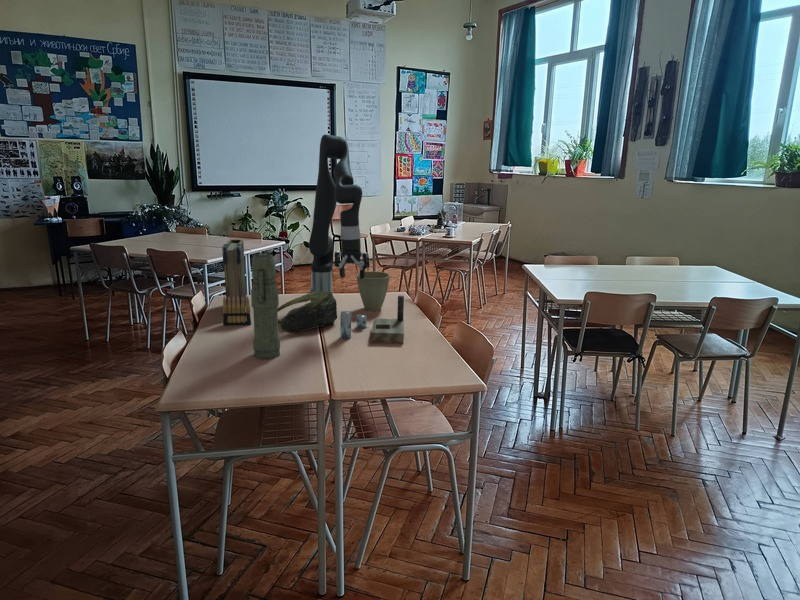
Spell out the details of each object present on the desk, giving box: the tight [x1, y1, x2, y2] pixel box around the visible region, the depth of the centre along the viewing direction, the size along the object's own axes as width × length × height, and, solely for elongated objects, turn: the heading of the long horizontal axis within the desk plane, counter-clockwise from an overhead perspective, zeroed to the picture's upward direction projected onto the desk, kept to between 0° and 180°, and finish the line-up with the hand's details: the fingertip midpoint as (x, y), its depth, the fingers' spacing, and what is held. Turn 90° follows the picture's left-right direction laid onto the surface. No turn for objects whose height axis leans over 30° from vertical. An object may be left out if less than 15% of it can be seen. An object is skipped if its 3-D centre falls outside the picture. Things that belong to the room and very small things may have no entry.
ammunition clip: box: [222, 295, 252, 327], centre depth 210 cm, size 11×2×12 cm, turn 99°
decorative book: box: [221, 239, 247, 312], centre depth 229 cm, size 23×7×30 cm, turn 12°
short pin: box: [356, 314, 368, 330], centre depth 212 cm, size 4×4×5 cm
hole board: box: [370, 294, 405, 345], centre depth 203 cm, size 12×18×14 cm, turn 0°
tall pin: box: [340, 310, 352, 340], centre depth 199 cm, size 4×4×10 cm
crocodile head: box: [277, 291, 338, 334], centre depth 210 cm, size 27×17×15 cm
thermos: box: [250, 252, 281, 360], centre depth 177 cm, size 9×12×35 cm
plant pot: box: [356, 270, 391, 311], centre depth 238 cm, size 15×15×16 cm
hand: (352, 278), depth 208 cm, fingers open, 8 cm apart
